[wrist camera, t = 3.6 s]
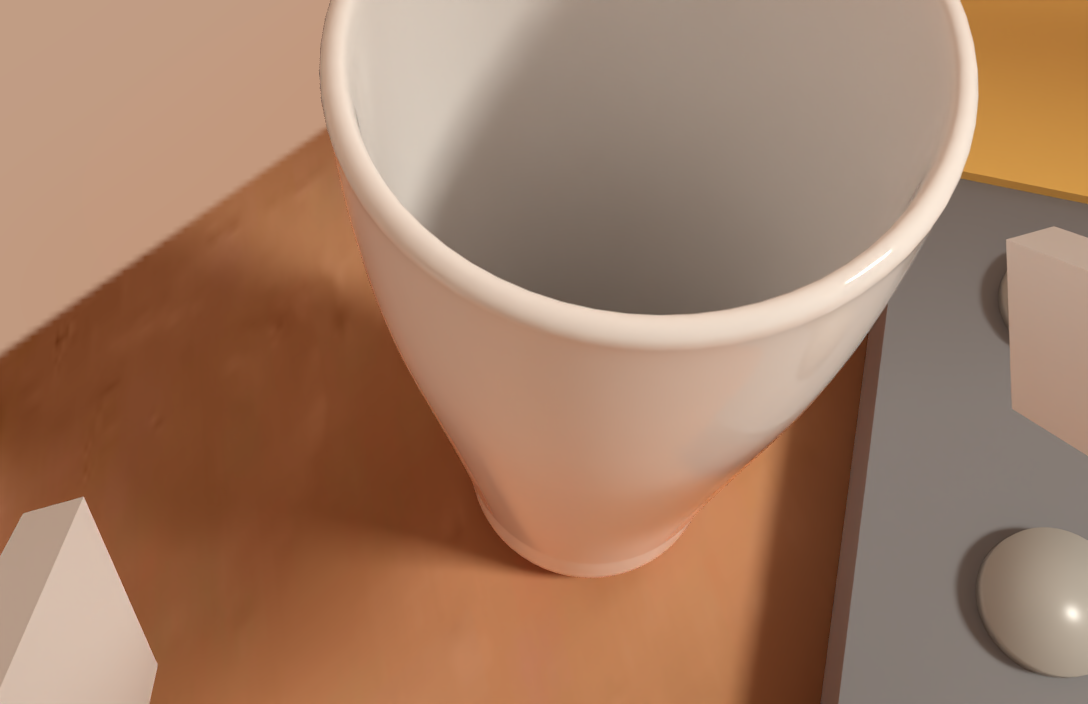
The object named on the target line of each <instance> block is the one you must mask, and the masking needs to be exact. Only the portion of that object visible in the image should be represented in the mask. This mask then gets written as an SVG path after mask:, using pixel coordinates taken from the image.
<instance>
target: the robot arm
mask: <svg viewBox="0 0 1088 704" xmlns="http://www.w3.org/2000/svg"><path fill="white" fill-rule="evenodd" d="M1006 252H1007V281H1008V311H1009V341H1010V370H1011V400H1012V409H1013V410H1015V411H1016V412H1018V413H1020V414H1021V415H1023V416H1024V417H1026V418H1028V419H1029V420H1031V421H1032V422H1034V423H1036V424H1037V425H1039V426H1040V427H1042V428H1044V429H1045V430H1047V431H1049V432H1050V433H1052V434H1053V435H1055V436H1057V437H1058V438H1060V439H1061V440H1063V441H1065V442H1066V443H1068V444H1069V445H1071V446H1073V447H1074V448H1076V449H1077V450H1079V451H1081V452H1082V453H1084V454H1086V455H1087V456H1088V238H1087V237H1084V236H1081V235H1078V234H1075V233H1072V232H1070V231H1067V230H1064V229H1061V228H1058V227H1055V226H1053V227H1049V228H1046V229H1042V230H1038V231H1035V232H1031V233H1028V234H1024V235H1020V236H1017V237H1013V238H1010V239H1006ZM157 667H158V665H157V662H156V660H155V658H154V656H153V653H152V651H151V649H150V646H149V644H148V642H147V640H146V637H145V635H144V633H143V630H142V628H141V626H140V624H139V621H138V619H137V617H136V615H135V612H134V610H133V608H132V605H131V603H130V601H129V599H128V596H127V594H126V592H125V589H124V587H123V585H122V583H121V580H120V578H119V576H118V574H117V571H116V569H115V567H114V564H113V562H112V560H111V558H110V555H109V553H108V551H107V549H106V546H105V544H104V542H103V539H102V537H101V535H100V533H99V530H98V528H97V526H96V523H95V521H94V519H93V517H92V514H91V512H90V510H89V508H88V505H87V503H86V501H85V498H84V497H80V498H77V499H73V500H70V501H66V502H62V503H59V504H55V505H52V506H48V507H44V508H41V509H37V510H34V511H30V512H27V513H23V515H22V516H21V518H20V520H19V522H18V524H17V526H16V528H15V529H14V531H13V533H12V535H11V537H10V539H9V541H8V543H7V544H6V546H5V548H4V550H3V552H2V554H1V556H0V704H149V703H150V698H151V694H152V689H153V685H154V680H155V676H156V671H157Z"/></svg>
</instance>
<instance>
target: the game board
mask: <svg viewBox="0 0 1088 704" xmlns="http://www.w3.org/2000/svg"><path fill="white" fill-rule="evenodd" d="M960 1H961V3H962V6H963V8H964V11H965V14H966V16H967V19H968V22H969V26H970V30H971V34H972V38H973V41H974V46H975V53H976V60H977V67H978V95H979V99H978V109H977V118H976V127H975V131H974V135H973V140H972V144H971V148H970V153H969V156H968V159H967V161H966V164H965V167H964V169H963V172H962V175H961V177H960V180H959V182H958V184H957V186H956V188H955V190H954V192H953V194H952V196H951V198H950V200H949V202H948V204H947V206H946V208H945V209H944V211H943V212H942V214H941V215H940V216H939V218H938V219H937V221H936V223H935V224H934V226H933V228H932V230H931V231H930V233H929V235H928V237H927V239H926V240H925V242H924V244H923V246H922V248H921V249H920V251H919V253H918V255H917V256H916V258H915V260H914V262H913V263H912V265H911V267H910V268H909V270H908V272H907V273H906V275H905V277H904V278H903V280H902V282H901V283H900V285H899V287H898V288H897V290H896V291H895V293H894V295H893V296H892V298H891V299H890V301H889V302H888V304H887V305H886V307H885V308H884V310H883V311H882V313H881V314H880V316H879V317H878V319H877V320H876V322H875V323H874V325H873V326H872V328H871V329H870V331H869V334H868V342H867V349H866V357H865V365H864V372H863V380H862V388H861V395H860V403H859V411H858V419H857V426H856V434H855V442H854V449H853V457H852V465H851V472H850V480H849V488H848V495H847V503H846V511H845V518H844V526H843V534H842V541H841V549H840V557H839V565H838V572H837V580H836V588H835V595H834V603H833V611H832V618H831V626H830V634H829V641H828V649H827V657H826V664H825V672H824V680H823V687H822V695H821V703H820V704H1088V456H1087V455H1086V454H1084V453H1082V452H1081V451H1079V450H1077V449H1076V448H1074V447H1073V446H1071V445H1069V444H1068V443H1066V442H1065V441H1063V440H1061V439H1060V438H1058V437H1057V436H1055V435H1053V434H1052V433H1050V432H1049V431H1047V430H1045V429H1044V428H1042V427H1040V426H1039V425H1037V424H1036V423H1034V422H1032V421H1031V420H1029V419H1028V418H1026V417H1024V416H1023V415H1021V414H1020V413H1018V412H1016V411H1015V410H1013V409H1012V400H1011V370H1010V341H1009V311H1008V281H1007V252H1006V239H1010V238H1013V237H1017V236H1020V235H1024V234H1028V233H1031V232H1035V231H1038V230H1042V229H1046V228H1049V227H1053V226H1055V227H1058V228H1061V229H1064V230H1067V231H1070V232H1072V233H1075V234H1078V235H1081V236H1084V237H1087V238H1088V0H960Z"/></svg>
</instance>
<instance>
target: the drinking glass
mask: <svg viewBox="0 0 1088 704" xmlns="http://www.w3.org/2000/svg"><path fill="white" fill-rule="evenodd" d="M319 75H320V89H321V101H322V106H323V111H324V117H325V122H326V127H327V131H328V134H329V137H330V140H331V144H332V148H333V152H334V157H335V161H336V166H337V170H338V175H339V179H340V183H341V188H342V192H343V196H344V200H345V204H346V208H347V212H348V216H349V219H350V223H351V226H352V229H353V233H354V236H355V240H356V243H357V246H358V249H359V252H360V255H361V258H362V261H363V264H364V267H365V271H366V274H367V277H368V280H369V283H370V286H371V288H372V291H373V294H374V296H375V299H376V302H377V304H378V307H379V309H380V312H381V314H382V316H383V319H384V321H385V323H386V326H387V328H388V330H389V332H390V335H391V337H392V339H393V341H394V343H395V345H396V348H397V350H398V352H399V354H400V356H401V358H402V360H403V362H404V364H405V365H406V367H407V369H408V371H409V373H410V375H411V376H412V378H413V380H414V382H415V383H416V385H417V387H418V389H419V390H420V392H421V394H422V395H423V397H424V399H425V401H426V402H427V404H428V406H429V407H430V409H431V411H432V412H433V414H434V416H435V418H436V419H437V421H438V423H439V424H440V426H441V428H442V429H443V431H444V433H445V435H446V436H447V438H448V440H449V441H450V443H451V445H452V447H453V448H454V450H455V452H456V454H457V455H458V457H459V459H460V461H461V463H462V464H463V466H464V468H465V470H466V471H467V473H468V475H469V477H470V479H471V481H472V482H473V486H474V490H475V493H476V496H477V499H478V502H479V504H480V507H481V509H482V511H483V513H484V515H485V517H486V518H487V520H488V522H489V523H490V525H491V526H492V528H493V529H494V530H495V532H496V533H497V534H498V535H499V537H500V538H501V539H502V540H503V541H504V542H505V543H506V544H507V545H508V546H509V547H510V548H511V549H513V550H514V551H515V552H516V553H518V554H519V555H520V556H522V557H523V558H525V559H526V560H528V561H530V562H531V563H533V564H535V565H537V566H539V567H541V568H544V569H546V570H549V571H552V572H555V573H558V574H562V575H566V576H573V577H581V578H599V577H608V576H614V575H618V574H622V573H626V572H629V571H631V570H634V569H637V568H639V567H641V566H643V565H645V564H647V563H649V562H651V561H652V560H654V559H655V558H657V557H658V556H660V555H661V554H662V553H664V552H665V551H666V550H667V549H669V548H670V547H671V546H672V545H673V544H674V543H675V542H676V541H677V540H678V539H679V537H680V536H681V535H682V534H683V533H684V531H685V530H686V528H687V527H688V526H689V524H690V523H691V521H692V519H693V518H694V516H695V515H696V514H697V513H698V512H699V511H700V510H701V509H702V508H703V507H704V506H705V505H706V504H707V503H708V502H709V501H710V500H711V499H713V498H714V497H715V496H716V495H717V494H718V493H719V492H720V491H721V490H722V489H723V488H724V487H725V486H726V485H727V484H728V483H730V482H731V481H732V480H733V479H734V478H735V477H736V476H737V475H738V474H739V473H740V472H742V471H743V470H744V469H745V468H746V467H747V466H748V465H749V464H750V463H751V462H752V461H754V460H755V459H756V458H757V457H758V456H759V455H760V454H761V453H762V452H763V451H764V450H766V449H767V448H768V447H769V446H770V445H771V444H772V443H773V442H774V441H775V440H776V439H777V438H778V437H779V436H780V435H782V434H783V433H784V432H785V431H786V430H787V429H788V428H789V427H790V426H791V425H792V424H793V423H794V422H795V421H796V420H797V419H798V418H799V417H800V416H801V415H802V414H803V413H804V412H805V411H806V410H807V409H808V407H809V406H810V405H811V404H812V403H813V402H814V401H815V400H816V399H817V397H818V396H819V395H820V394H821V393H822V392H823V390H824V389H825V388H826V387H827V386H828V385H829V383H830V382H831V381H832V380H833V379H834V377H835V376H836V375H837V374H838V373H839V371H840V370H841V369H842V368H843V366H844V365H845V364H846V362H847V361H848V360H849V358H850V357H851V356H852V355H853V353H854V352H855V351H856V349H857V348H858V346H859V345H860V343H861V342H862V341H863V339H864V338H865V336H866V335H867V333H868V332H869V331H870V329H871V328H872V326H873V325H874V323H875V322H876V320H877V319H878V317H879V316H880V314H881V313H882V311H883V310H884V308H885V307H886V305H887V304H888V302H889V301H890V299H891V298H892V296H893V295H894V293H895V291H896V290H897V288H898V287H899V285H900V283H901V282H902V280H903V278H904V277H905V275H906V273H907V272H908V270H909V268H910V267H911V265H912V263H913V262H914V260H915V258H916V256H917V255H918V253H919V251H920V249H921V248H922V246H923V244H924V242H925V240H926V239H927V237H928V235H929V233H930V231H931V230H932V228H933V226H934V224H935V223H936V221H937V219H938V218H939V216H940V215H941V214H942V212H943V211H944V209H945V208H946V206H947V204H948V202H949V200H950V198H951V196H952V194H953V192H954V190H955V188H956V186H957V184H958V182H959V180H960V177H961V175H962V172H963V169H964V167H965V164H966V161H967V159H968V156H969V153H970V148H971V144H972V140H973V135H974V131H975V127H976V118H977V109H978V99H979V95H978V67H977V60H976V53H975V46H974V41H973V38H972V34H971V30H970V26H969V22H968V19H967V16H966V14H965V11H964V8H963V6H962V3H961V1H960V0H331V1H330V4H329V8H328V11H327V14H326V18H325V23H324V28H323V35H322V40H321V48H320V70H319Z"/></svg>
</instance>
